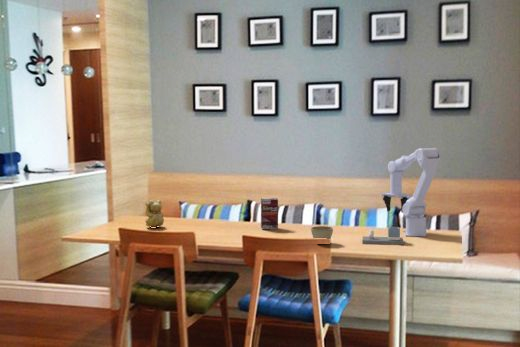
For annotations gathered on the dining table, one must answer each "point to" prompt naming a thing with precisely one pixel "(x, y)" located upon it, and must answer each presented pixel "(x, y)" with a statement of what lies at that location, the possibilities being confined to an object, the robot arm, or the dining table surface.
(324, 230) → the flower pot
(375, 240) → the pin board
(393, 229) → the sleeve
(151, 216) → the decorative figurine
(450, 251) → the dining table surface
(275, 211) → the supplement box
